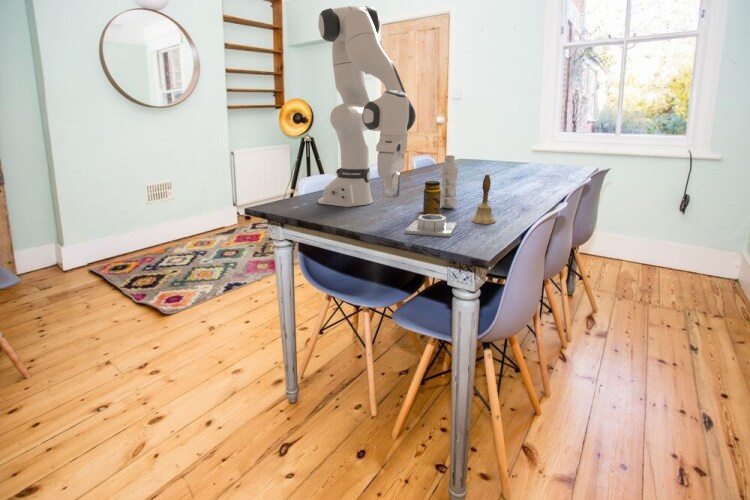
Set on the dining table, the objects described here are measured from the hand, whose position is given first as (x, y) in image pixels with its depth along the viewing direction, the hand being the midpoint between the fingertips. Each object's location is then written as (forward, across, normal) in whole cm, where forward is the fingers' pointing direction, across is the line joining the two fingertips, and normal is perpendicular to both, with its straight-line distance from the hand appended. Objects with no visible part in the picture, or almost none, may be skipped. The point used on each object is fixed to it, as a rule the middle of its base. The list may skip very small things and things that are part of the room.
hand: (391, 186), depth 151 cm
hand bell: (+12, -12, +30) cm, 35 cm away
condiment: (+12, -17, +10) cm, 24 cm away
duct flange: (+12, +4, +15) cm, 19 cm away
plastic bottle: (+12, -29, +15) cm, 35 cm away
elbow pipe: (+3, 0, 0) cm, 3 cm away
